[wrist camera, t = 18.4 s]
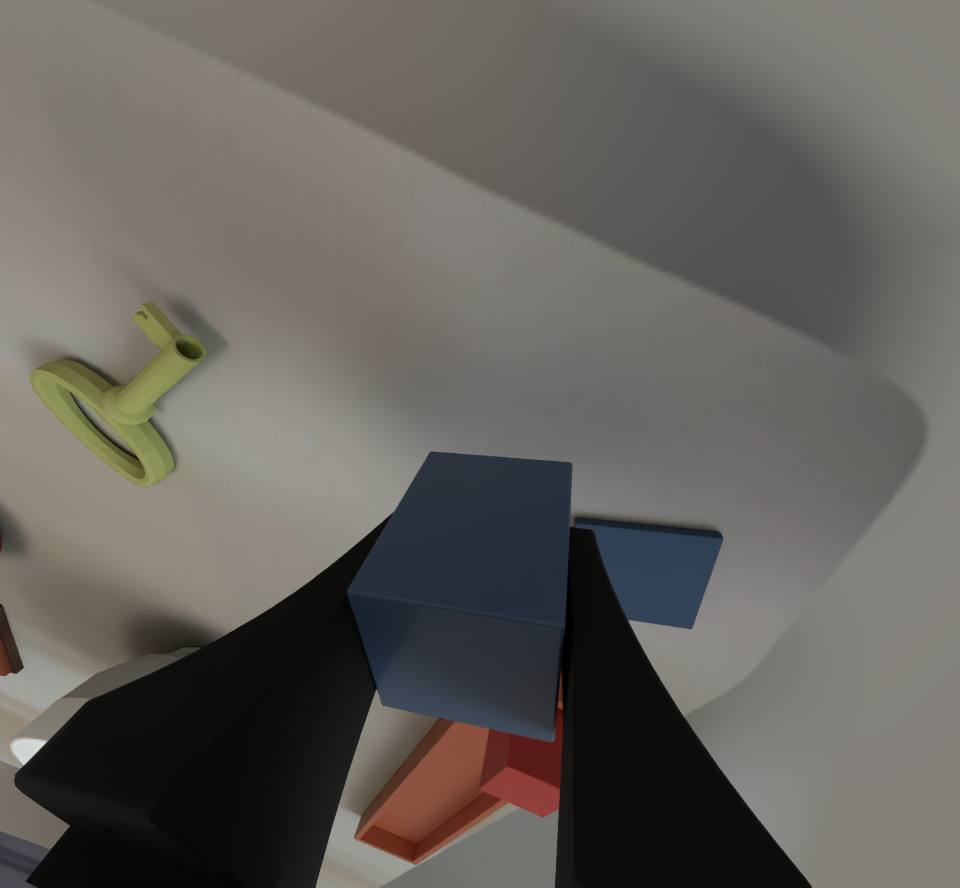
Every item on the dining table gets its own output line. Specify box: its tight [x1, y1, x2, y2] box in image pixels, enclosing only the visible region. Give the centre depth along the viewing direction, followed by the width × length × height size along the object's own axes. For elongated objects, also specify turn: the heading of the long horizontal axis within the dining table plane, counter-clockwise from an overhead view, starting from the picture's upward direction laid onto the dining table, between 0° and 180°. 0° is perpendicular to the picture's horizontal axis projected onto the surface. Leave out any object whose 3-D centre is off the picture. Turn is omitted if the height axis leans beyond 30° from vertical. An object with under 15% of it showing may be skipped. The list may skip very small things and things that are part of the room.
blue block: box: [347, 452, 572, 742], centre depth 10 cm, size 4×4×5 cm
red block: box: [479, 708, 563, 817], centre depth 24 cm, size 4×4×5 cm
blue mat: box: [574, 518, 723, 629], centre depth 19 cm, size 6×6×1 cm
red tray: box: [354, 674, 563, 865], centre depth 35 cm, size 41×8×2 cm, turn 158°
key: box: [29, 302, 207, 487], centre depth 19 cm, size 7×12×2 cm, turn 140°
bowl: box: [10, 647, 201, 765], centre depth 32 cm, size 19×19×9 cm
